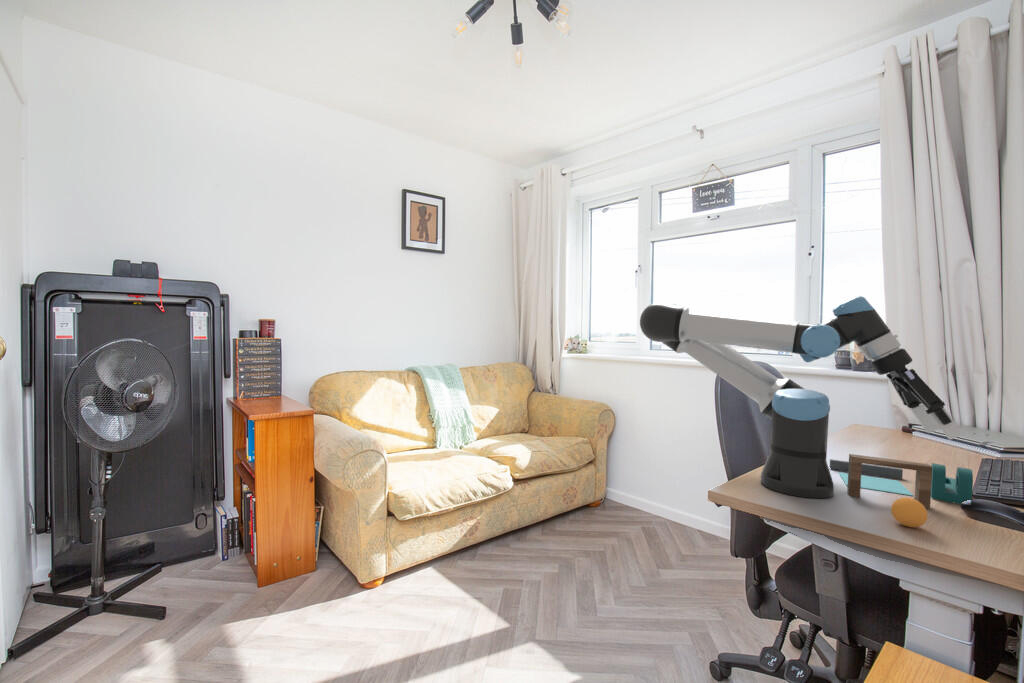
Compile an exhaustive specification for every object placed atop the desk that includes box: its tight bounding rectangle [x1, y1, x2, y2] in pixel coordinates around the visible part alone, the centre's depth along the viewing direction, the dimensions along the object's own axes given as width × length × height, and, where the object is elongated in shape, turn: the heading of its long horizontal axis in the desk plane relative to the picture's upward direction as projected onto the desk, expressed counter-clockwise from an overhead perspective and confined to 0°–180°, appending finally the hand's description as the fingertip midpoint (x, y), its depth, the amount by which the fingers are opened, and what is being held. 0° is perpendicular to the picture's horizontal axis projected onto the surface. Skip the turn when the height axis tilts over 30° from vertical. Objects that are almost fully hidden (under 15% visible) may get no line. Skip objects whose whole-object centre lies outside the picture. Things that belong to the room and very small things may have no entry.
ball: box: [890, 497, 928, 528], centre depth 93 cm, size 6×6×6 cm
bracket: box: [930, 462, 974, 505], centre depth 115 cm, size 18×7×8 cm, turn 141°
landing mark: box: [837, 471, 914, 497], centre depth 120 cm, size 13×13×1 cm
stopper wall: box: [829, 458, 904, 480], centre depth 130 cm, size 16×2×2 cm, turn 63°
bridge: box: [846, 453, 932, 509], centre depth 108 cm, size 3×14×9 cm, turn 63°
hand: (944, 433), depth 110 cm, fingers open, 13 cm apart
